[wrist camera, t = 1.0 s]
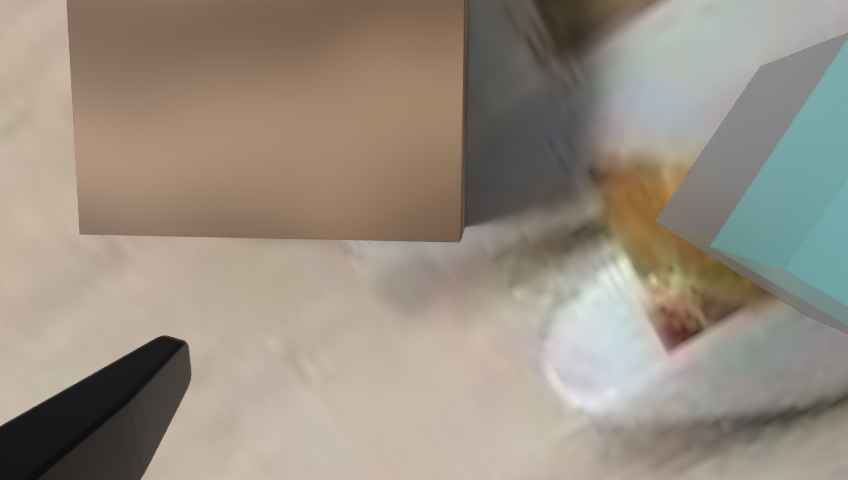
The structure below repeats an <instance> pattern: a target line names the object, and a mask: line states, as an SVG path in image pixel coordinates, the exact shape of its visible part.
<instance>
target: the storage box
mask: <svg viewBox="0 0 848 480" xmlns="http://www.w3.org/2000/svg"><path fill="white" fill-rule="evenodd" d="M847 39H848V33H846V34H843V35H841V36H838V37H836V38H833V39H830V40H828V41H825V42H823V43H820V44H817V45H815V46H812V47H810V48H807V49H804V50H802V51H799V52H797V53H794V54H791V55H789V56H786V57H784V58H781V59H778V60H776V61H773V62H771V63H768V64H765V65H763V66H760V68H759V69H758V71H757V72H756V74H755V75H754V77H753V78H752V79H751V81H750V82H749V84H748V85H747V87H746V88H745V90H744V91H743V93H742V94H741V96H740V97H739V99H738V100H737V101H736V103H735V104H734V106H733V107H732V109H731V110H730V112H729V113H728V115H727V116H726V118H725V119H724V121H723V122H722V123H721V125H720V126H719V128H718V129H717V131H716V132H715V134H714V135H713V137H712V138H711V140H710V141H709V142H708V144H707V145H706V147H705V148H704V150H703V151H702V153H701V154H700V156H699V157H698V159H697V160H696V162H695V163H694V164H693V166H692V167H691V169H690V170H689V172H688V173H687V175H686V176H685V178H684V179H683V181H682V182H681V184H680V185H679V186H678V188H677V189H676V191H675V192H674V194H673V195H672V197H671V198H670V200H669V201H668V203H667V204H666V205H665V207H664V208H663V210H662V211H661V213H660V214H659V216H658V217H657V219H656V220H655V223H657V224H658V225H660V226H662V227H663V228H665V229H666V230H668V231H670V232H671V233H673V234H675V235H676V236H678V237H679V238H681V239H683V240H684V241H686V242H688V243H689V244H691V245H692V246H694V247H696V248H697V249H699V250H701V251H702V252H704V253H705V254H707V255H709V256H710V257H712V258H714V259H715V260H717V261H718V262H720V263H722V264H723V265H725V266H726V267H728V268H730V269H731V270H733V271H735V272H736V273H738V274H739V275H741V276H743V277H744V278H746V279H748V280H749V281H751V282H752V283H754V284H756V285H757V286H759V287H761V288H762V289H764V290H765V291H767V292H769V293H770V294H772V295H774V296H775V297H777V298H778V299H780V300H782V301H783V302H785V303H787V304H788V305H790V306H791V307H793V308H795V309H796V310H798V311H799V312H801V313H803V314H804V315H806V316H808V317H810V318H813V319H815V320H817V321H820V322H822V323H824V324H826V325H829V326H831V327H833V328H836V329H838V330H840V331H843V332H845V333H847V334H848V326H847V325H845V324H844V323H842V322H840V321H838V320H837V319H835V318H833V317H832V316H830V315H828V314H826V313H825V312H823V311H821V310H819V309H818V308H816V307H814V306H813V305H811V304H809V303H807V302H806V301H804V300H802V299H800V298H799V297H797V296H795V295H794V294H792V293H790V292H788V291H787V290H785V289H783V288H781V287H780V286H778V285H776V284H775V283H773V282H771V281H769V280H768V279H766V278H764V277H762V276H761V275H759V274H757V273H755V272H754V271H752V270H750V269H749V268H747V267H745V266H743V265H742V264H740V263H738V262H736V261H735V260H733V259H731V258H730V257H728V256H726V255H724V254H723V253H721V252H719V251H717V250H716V249H714V248H712V247H711V246H710V245H711V244H712V242H713V241H714V239H715V238H716V236H717V235H718V233H719V232H720V230H721V229H722V227H723V226H724V224H725V223H726V221H727V220H728V218H729V217H730V215H731V214H732V212H733V211H734V209H735V208H736V206H737V205H738V203H739V202H740V200H741V199H742V197H743V196H744V194H745V193H746V191H747V190H748V188H749V187H750V185H751V184H752V182H753V181H754V179H755V178H756V176H757V175H758V173H759V172H760V170H761V169H762V167H763V166H764V164H765V163H766V161H767V160H768V158H769V157H770V155H771V154H772V152H773V151H774V149H775V148H776V146H777V145H778V143H779V141H780V140H781V138H782V137H783V135H784V134H785V132H786V131H787V129H788V128H789V126H790V125H791V123H792V122H793V120H794V119H795V117H796V116H797V114H798V113H799V111H800V110H801V108H802V107H803V105H804V104H805V102H806V101H807V99H808V98H809V96H810V95H811V93H812V92H813V90H814V89H815V87H816V86H817V84H818V83H819V81H820V80H821V78H822V77H823V75H824V74H825V72H826V71H827V69H828V68H829V66H830V65H831V63H832V62H833V60H834V59H835V57H836V56H837V54H838V53H839V51H840V50H841V48H842V47H843V45H844V44H845V42H846V41H847Z"/></svg>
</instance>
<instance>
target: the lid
mask: <svg viewBox="0 0 848 480" xmlns="http://www.w3.org/2000/svg"><path fill="white" fill-rule="evenodd" d="M710 246H711V247H712V248H714V249H716V250H717V251H719V252H721V253H723V254H724V255H726V256H728V257H730V258H731V259H733V260H735V261H736V262H738V263H740V264H742V265H743V266H745V267H747V268H749V269H750V270H752V271H754V272H755V273H757V274H759V275H761V276H762V277H764V278H766V279H768V280H769V281H771V282H773V283H775V284H776V285H778V286H780V287H781V288H783V289H785V290H787V291H788V292H790V293H792V294H794V295H795V296H797V297H799V298H800V299H802V300H804V301H806V302H807V303H809V304H811V305H813V306H814V307H816V308H818V309H819V310H821V311H823V312H825V313H826V314H828V315H830V316H832V317H833V318H835V319H837V320H838V321H840V322H842V323H844V324H845V325H847V326H848V39H847V41H846V42H845V44H844V45H843V47H842V48H841V50H840V51H839V53H838V54H837V56H836V57H835V59H834V60H833V62H832V63H831V65H830V66H829V68H828V69H827V71H826V72H825V74H824V75H823V77H822V78H821V80H820V81H819V83H818V84H817V86H816V87H815V89H814V90H813V92H812V93H811V95H810V96H809V98H808V99H807V101H806V102H805V104H804V105H803V107H802V108H801V110H800V111H799V113H798V114H797V116H796V117H795V119H794V120H793V122H792V123H791V125H790V126H789V128H788V129H787V131H786V132H785V134H784V135H783V137H782V138H781V140H780V141H779V143H778V145H777V146H776V148H775V149H774V151H773V152H772V154H771V155H770V157H769V158H768V160H767V161H766V163H765V164H764V166H763V167H762V169H761V170H760V172H759V173H758V175H757V176H756V178H755V179H754V181H753V182H752V184H751V185H750V187H749V188H748V190H747V191H746V193H745V194H744V196H743V197H742V199H741V200H740V202H739V203H738V205H737V206H736V208H735V209H734V211H733V212H732V214H731V215H730V217H729V218H728V220H727V221H726V223H725V224H724V226H723V227H722V229H721V230H720V232H719V233H718V235H717V236H716V238H715V239H714V241H713V242H712V244H711V245H710Z"/></svg>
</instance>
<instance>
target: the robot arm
mask: <svg viewBox="0 0 848 480" xmlns="http://www.w3.org/2000/svg"><path fill="white" fill-rule="evenodd" d="M190 380H191V364H190V354H189V346H188V344H187V343H186V341H184V340H181V339H177V338H174V337H170V336H160V337H157V338H155V339H154V340H152V341H150V342H148V343H147V344H145V345H143V346H141V347H139V348H138V349H136V350H134V351H132V352H131V353H129V354H127V355H125V356H123V357H122V358H120V359H118V360H116V361H115V362H113V363H111V364H109V365H108V366H106V367H104V368H102V369H100V370H99V371H97V372H95V373H93V374H92V375H90V376H88V377H86V378H85V379H83V380H81V381H79V382H77V383H76V384H74V385H72V386H70V387H69V388H67V389H65V390H63V391H62V392H60V393H58V394H56V395H54V396H53V397H51V398H49V399H47V400H46V401H44V402H42V403H40V404H38V405H37V406H35V407H33V408H31V409H30V410H28V411H26V412H24V413H23V414H21V415H19V416H17V417H15V418H14V419H12V420H10V421H8V422H7V423H5V424H3V425H1V426H0V480H141V478H142V476H143V475H144V473H145V471H146V469H147V468H148V466H149V464H150V462H151V460H152V458H153V456H154V454H155V452H156V450H157V448H158V446H159V444H160V442H161V440H162V438H163V436H164V434H165V432H166V430H167V428H168V426H169V424H170V423H171V421H172V419H173V417H174V415H175V413H176V411H177V409H178V407H179V405H180V403H181V401H182V399H183V397H184V395H185V393H186V391H187V389H188V387H189V384H190Z"/></svg>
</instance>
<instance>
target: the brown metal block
mask: <svg viewBox="0 0 848 480" xmlns="http://www.w3.org/2000/svg"><path fill="white" fill-rule="evenodd" d="M67 15H68V33H69V51H70V69H71V87H72V105H73V123H74V140H75V158H76V176H77V194H78V212H79V230H80V234H84V235H133V236H181V237H230V238H279V239H327V240H376V241H424V242H460V241H461V238H462V235H463V231H464V228H465V188H466V131H467V73H468V15H469V0H67Z"/></svg>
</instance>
